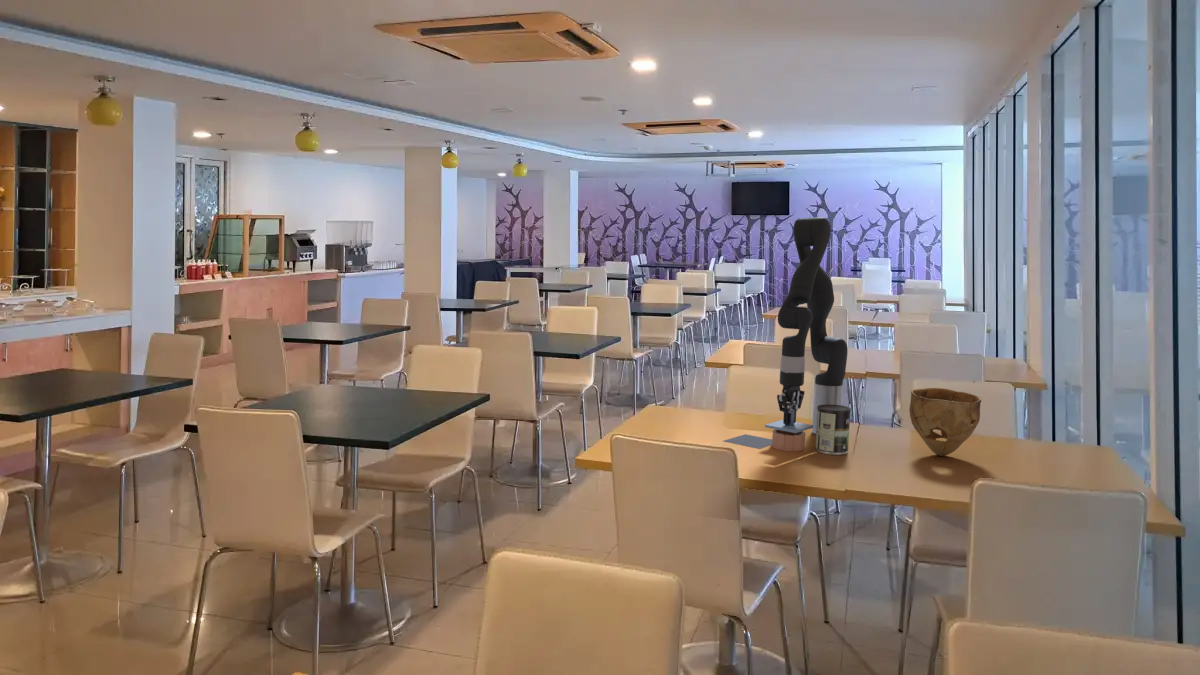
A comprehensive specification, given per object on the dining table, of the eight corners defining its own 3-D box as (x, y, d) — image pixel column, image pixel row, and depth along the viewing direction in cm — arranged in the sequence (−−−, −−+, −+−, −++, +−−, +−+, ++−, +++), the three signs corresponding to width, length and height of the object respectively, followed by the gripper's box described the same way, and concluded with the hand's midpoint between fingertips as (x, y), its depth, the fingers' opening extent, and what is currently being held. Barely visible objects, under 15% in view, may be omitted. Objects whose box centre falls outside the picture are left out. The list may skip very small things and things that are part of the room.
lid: (782, 422, 304) (783, 404, 303) (813, 427, 296) (814, 409, 296) (765, 427, 295) (765, 409, 295) (795, 433, 288) (796, 414, 287)
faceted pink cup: (782, 443, 304) (783, 426, 303) (810, 449, 297) (811, 432, 296) (765, 448, 296) (766, 431, 295) (794, 454, 290) (795, 437, 289)
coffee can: (847, 448, 299) (849, 405, 298) (849, 456, 289) (852, 411, 288) (814, 446, 301) (816, 403, 300) (815, 453, 291) (817, 409, 290)
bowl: (975, 452, 299) (979, 390, 296) (978, 467, 280) (983, 402, 277) (906, 445, 306) (911, 385, 303) (905, 459, 287) (909, 396, 284)
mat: (745, 435, 313) (745, 434, 313) (782, 443, 304) (782, 441, 304) (722, 442, 302) (722, 441, 302) (759, 450, 293) (759, 448, 293)
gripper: (792, 366, 301) (790, 418, 303) (770, 370, 291) (767, 425, 293) (813, 368, 296) (810, 422, 298) (791, 373, 286) (788, 429, 288)
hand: (789, 423), depth 296 cm, fingers closed on lid, 2 cm apart
